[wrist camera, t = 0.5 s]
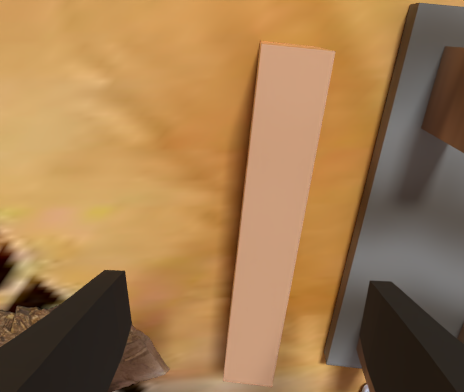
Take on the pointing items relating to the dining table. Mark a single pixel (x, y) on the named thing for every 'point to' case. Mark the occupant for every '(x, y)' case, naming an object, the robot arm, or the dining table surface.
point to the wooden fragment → (133, 360)
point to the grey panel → (412, 188)
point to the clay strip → (274, 202)
